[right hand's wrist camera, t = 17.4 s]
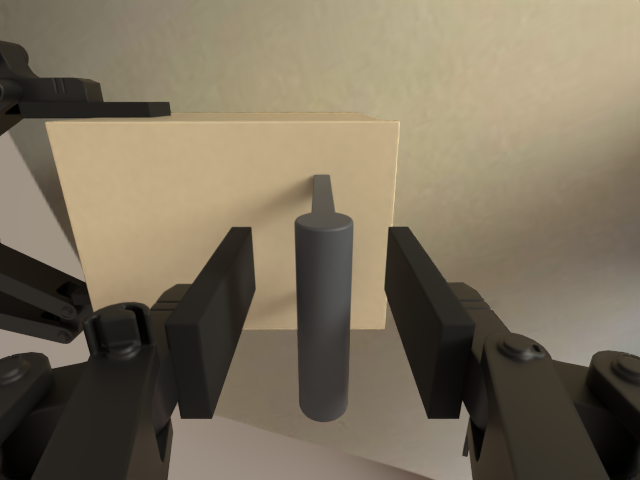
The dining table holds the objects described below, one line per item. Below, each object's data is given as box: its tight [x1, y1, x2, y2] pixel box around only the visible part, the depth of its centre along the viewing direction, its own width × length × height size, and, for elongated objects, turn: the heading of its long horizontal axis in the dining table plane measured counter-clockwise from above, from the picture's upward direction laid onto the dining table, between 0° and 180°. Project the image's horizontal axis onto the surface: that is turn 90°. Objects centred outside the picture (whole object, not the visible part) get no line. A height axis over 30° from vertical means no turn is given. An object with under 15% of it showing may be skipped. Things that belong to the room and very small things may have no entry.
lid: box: [45, 120, 400, 422], centre depth 14 cm, size 15×10×8 cm
